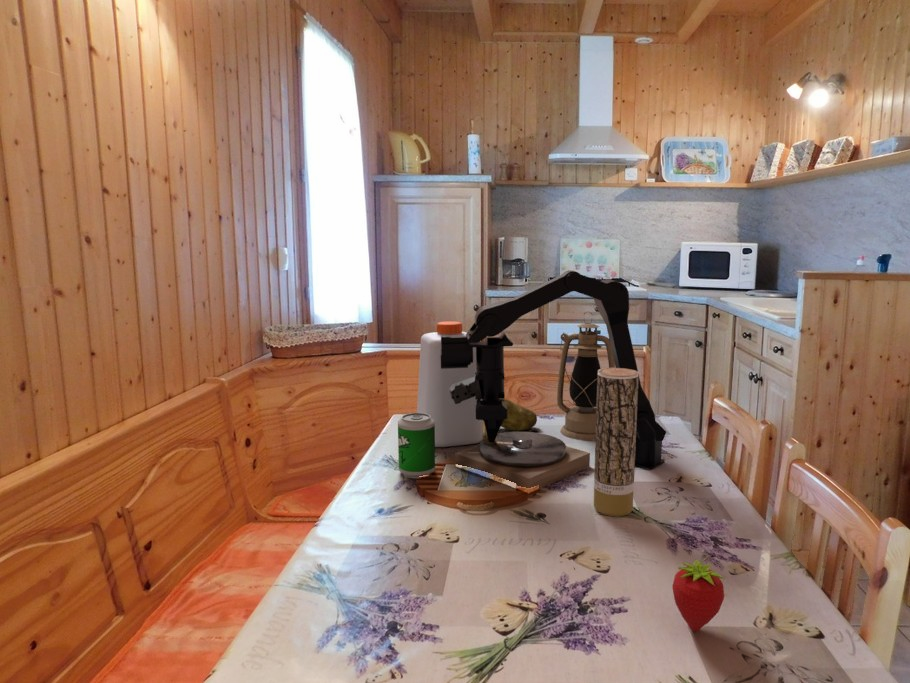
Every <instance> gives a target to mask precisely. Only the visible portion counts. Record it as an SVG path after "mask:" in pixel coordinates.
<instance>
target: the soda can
mask: <svg viewBox="0 0 910 683" xmlns="http://www.w3.org/2000/svg"><path fill="white" fill-rule="evenodd" d="M397 442H398V445H397V447H398V449H397V450H398V470H399V472H400V473H401V474H402V475H403V476H404V477H406V478H409V479H418V478H417V477H419V476H423V475H427V474H430V473H431V472H432V473H433V472H434V471H435V470H436V447H435V421H434V420H433V419H432V418H431V416H430V415H428V414H425V413H417V412H412V413H406V414H403V415H402V416H401V418H400V419H399V420H397ZM432 473H431V474H432ZM431 474H430V475H431Z"/></svg>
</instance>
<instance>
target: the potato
mask: <svg viewBox="0 0 910 683" xmlns="http://www.w3.org/2000/svg"><path fill="white" fill-rule="evenodd" d="M504 403H505V404H506V405H507V419H505V420H503V423H502V425H501V427H500V428H502V429H505V430H508V431H510V432H522V431H526V430H529V429H533V427H535V426H536V424H537V422H538V417H537V416H538V415H537V414H536V412H535V411H533V410H532V409H530V408H527V407H525V406H522V405H520V404H518V403H515V402H513V401H511V400H510V399H507V398H505V399H504Z"/></svg>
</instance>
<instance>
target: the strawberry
mask: <svg viewBox="0 0 910 683" xmlns="http://www.w3.org/2000/svg"><path fill="white" fill-rule="evenodd" d="M707 558H708V556H705V558H704V559H702V561H699V560H698V559H695V561H694V563H693V564H690V563H686V562H681V564H682V565H683V566H679V567H677V569H678V570H679V571H677V572H676V573H675V575H674V578H673V584H672V587H671V588H672V594H673V598H674V602H675V606H676V607H677V610H678V611H679V612H680V615H681V617H682V619H683V620H684V622H685V623H686V624H687V626H688V627H689V629H690V630H691V631H692V632H699V631H700V630H701V629H702V628H703V627H704V626H705V625H707V624H709V623H710V622H711V620H712V619H714V617H715V616H717V614H718V613H719V612H720V609H721V608H722V605H723V602H724V599H725V591H724V590H725V588H724V584H723V581H722V580H723V579H724V580H725V579H726V577H725V576H722V575H720V574H719V573H717V572H715V571H714V570H712V569H711V566H712V564H704V565H702V563H703V562H704V561H705V560H706V559H707ZM721 579H722V580H721Z"/></svg>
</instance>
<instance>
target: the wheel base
mask: <svg viewBox="0 0 910 683" xmlns="http://www.w3.org/2000/svg"><path fill="white" fill-rule="evenodd" d="M590 456H591V453H590V452H588V451H585V450H581V449H577V448H573V447H571V446H567V445H566V456H565V457H564V458H563V459H562V460H561V461H559V462H557V463H554V464H550V465H546V466H539V467H514V466H506V465H501V464H497V463H494V462H491V461H489V460H487V459H485V458H483V457H482V456H481V454H480V444H479V445H475V446H472V447H469V448H466V449H463V450H460V451H458V452H455V453H454V465H455V464H458V465H462V466H467V467H471V468H474V469H478V470H481V471H485V472H488V473H491V474H493V475H496V476H498V477H500V478H503V479H506V480H509V481H511V482H514V483H516V484H517V485H518V486H521V487H526V488H531V487H534V486H537V485H539V489H538V490H540V489H542V488H545V487H547V486H549V485H551V484H554V483H556V482H558V481H560V480H563V479H565V478H567V477H569V476H571V475H573V474H576V473H578V472H580V471H582V470H583V471H584V470H585V469H587V468H589V467H590V466H591V465H590V463H591V461H590V460H591V457H590Z"/></svg>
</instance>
